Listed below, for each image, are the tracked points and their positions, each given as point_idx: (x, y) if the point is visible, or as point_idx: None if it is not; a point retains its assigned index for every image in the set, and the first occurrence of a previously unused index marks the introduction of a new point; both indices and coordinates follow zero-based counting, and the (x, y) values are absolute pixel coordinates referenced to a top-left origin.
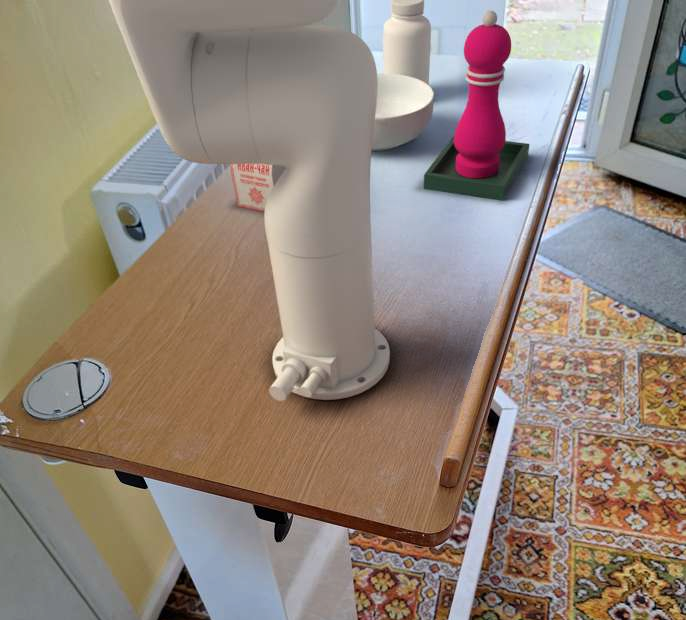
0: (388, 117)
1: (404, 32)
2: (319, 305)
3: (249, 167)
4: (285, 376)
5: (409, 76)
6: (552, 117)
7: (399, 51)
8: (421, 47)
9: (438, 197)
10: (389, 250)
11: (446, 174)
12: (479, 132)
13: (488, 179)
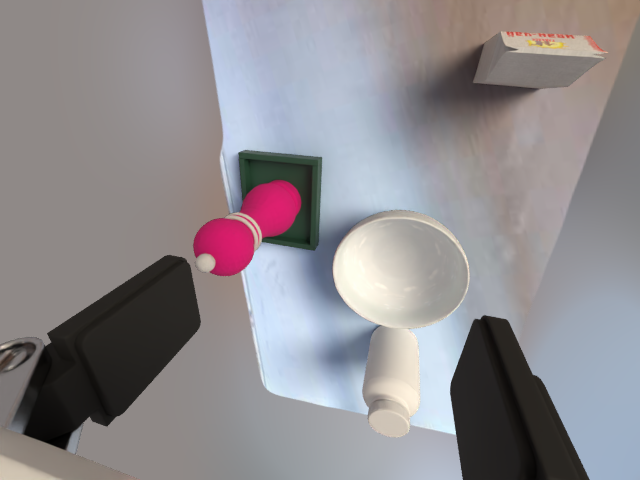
0: (368, 223)
1: (386, 380)
2: None
3: (546, 34)
4: None
5: (383, 344)
6: (256, 305)
7: (393, 364)
8: (369, 369)
9: (302, 142)
10: (316, 4)
11: (305, 183)
12: (256, 192)
13: (265, 181)
